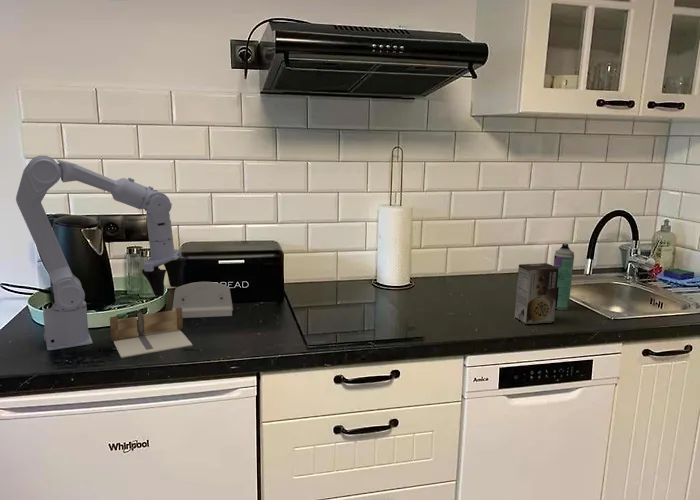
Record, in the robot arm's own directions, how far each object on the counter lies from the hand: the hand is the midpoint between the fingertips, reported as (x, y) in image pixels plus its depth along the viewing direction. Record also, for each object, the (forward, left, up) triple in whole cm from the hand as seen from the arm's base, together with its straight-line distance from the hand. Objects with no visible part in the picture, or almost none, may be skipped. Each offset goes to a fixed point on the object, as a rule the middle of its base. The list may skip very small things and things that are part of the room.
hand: (167, 290), depth 142 cm
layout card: (-6, -8, -10) cm, 14 cm away
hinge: (+11, +9, -10) cm, 18 cm away
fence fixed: (-11, -3, -10) cm, 15 cm away
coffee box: (+91, -40, -10) cm, 101 cm away
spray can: (+108, -35, -10) cm, 115 cm away
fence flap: (-3, -3, -9) cm, 10 cm away
